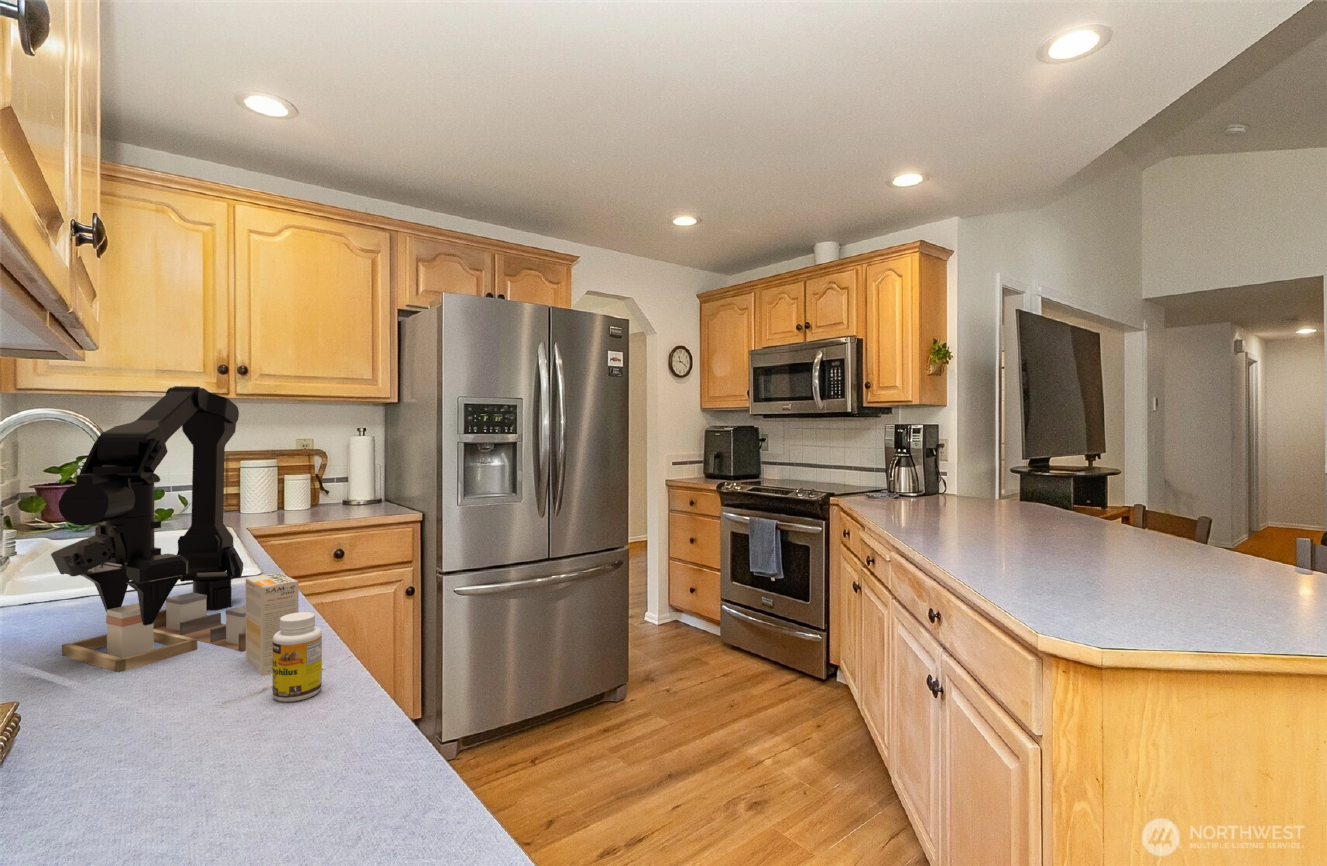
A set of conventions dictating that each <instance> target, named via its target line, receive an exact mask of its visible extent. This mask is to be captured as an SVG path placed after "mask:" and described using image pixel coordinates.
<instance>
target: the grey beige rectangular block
mask: <svg viewBox="0 0 1327 866" xmlns="http://www.w3.org/2000/svg"><path fill="white" fill-rule="evenodd" d="M206 599H207V595H203V594H198V593H193V591H192V592H189V593H184V594H183V593H182V594H179V595H174V596H168V597H167V599H166V600H165V609H166V628H168V629H173V630H177V631H180V622H183V621H187V620H191V619H195V618H199V617H203V616H207V610H206Z"/></svg>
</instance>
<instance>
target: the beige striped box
mask: <svg viewBox="0 0 1327 866" xmlns="http://www.w3.org/2000/svg"><path fill="white" fill-rule="evenodd" d="M105 619H106V620H105V622H106V634H107V646H106V654H109V655H112V656H116V657H119V658H125V657H129V656H133V655H136V654H140V653H144V652H147V651H151V650H154V642H153V624H150V625H146V626H145V625H143V623H142V618H141V613H140V606H139V602H137V603H132V604H128V605H124V606H123V605H122V606H121V607H117V608H113V609H108V610H107V613H106V617H105Z"/></svg>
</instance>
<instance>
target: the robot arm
mask: <svg viewBox="0 0 1327 866" xmlns="http://www.w3.org/2000/svg"><path fill="white" fill-rule="evenodd" d="M238 407H239V406H237V404H235V403H234V402H233V401H231V399H229V398H227V397H225V396H222V395H219V394H216V393H214V392H209V391H208V390H207V389H205V388H204V387H201V386H193V385H192V386H190V385H189V386H187V385H184V386H183V385H180V386H179V385H178V386H177V385H176V386H172V387H168V389H167V390H166V393H165V395H164V396H163V397H161V398H160V399H159V400H158V401H157V402H156V403H154V404H153V405H151V407H150V408H148V409H147V410H146V411H145V412H144V413H143V414H141V416H139V417H138V418H137V419H136V420H134V421H131V422H127V423H123V424H119V425H115V426H113V427H112V428H109V429H107V430H105V431H104V432H102V433H101V434H100V435H98V437H97V438H96V440H95V442H94V443H93V445H92V447H91V449H90V451H89V453H88V454H87V455H88V456H87V457H86V459H85V461H84V463H83V466H82V468H81V469H80V472H79V473H78V474H77V475H76V477H75V478H76V484H73V485H71V486H70V487H68V488H67V489H65V491H64V492H63V493H62V494H61V497H60V499H59V500H58V510H59V513H60V515H61V516H62V518H63V519H65V521H67V522H68V523H70V524H73V525H74V526H80V527H84V526H86V527H87V526H91V525H94V524H95V525H96V524H97V526H96V527H95V528H94V529H95V531H94V532H95V533H94V535H93V536H90V537H88V538H84V539H82V540H79V541H76V542H74V543H72V544H69V545H66V546H65V547H62V548H60V549H57V550H54V551H53V552H51V553H50V556H51V558H52V560H53V561H54V562H53V563H54V564H55V566H56V568H57V570H58V572H59V574H60V575H69V576H70V577H78V576H79V577H83V578H85V579H87V580H89V581H91V582H92V583H93V584H94V585H95V587H96V590H97V592H98V595H99V597H100V599H101V602H102V605H103V607H104V611H105V612H106V614H107V610H108V609H113V608H117V607H122V606H123V603H124V600H125V596H126V594H127V592H128V591H127V589H128V586H129V587H131V588H132V589H133V590H135V591H136V593H137V598H138V603H139V606H140V613H141V618H142V623H143V625H145V626H146V625H150V624H153V622H154V620H155V619H156V617H157V615H158V613H159V611H160V610H162V608H163V606H164V604H165V603H166V599H167V598H169V595H170V594H171V592H172V590H173V589H174V587H175V586H176V585H177V582H178V581H180V582H190V581H191V582H192V592H193V593H198V594H203V595H207V599H206V611H220V610H224V609H225V610H226V609H230V608H232V607H233V605H232V603H233V602H232V598H233V597H232V594H233V593H232V592H233V591H232V580H234V579H238V578H241V577H242V574H243V570H244V562H243V560H242V558H241V556H240V555H239V554H238V551H237V549H236V548H235V545H234V544H235V543H234V536H233V535H232V533H231V532H230V530H229V529H228V528H227V527H226V525H225V524H224V501H225V499H224V496H225V494H224V493H225V455H226V454H225V452H226V451H225V449H226V448H225V447H226V445H227V444H228V443H229V441H230V440H231V439H232V437H233V436H234V435H235V433H236V428H237V422H238V421H239V416H240V411H239V408H238ZM181 428H182V432H183V434H184V435H185V437H186V438H187V440H188V441H189V443H190V444H191V445H192V477H191V483H192V485H191V517H190V518H191V523H190V526H189V528H188V529H187V530H186V532H185V533H184V535H180V536H179V538H178V540H177V553H176V554H173V553H163V554H162V548H161V547H156V546H155V529H161V528H162V521H161V520H155V484H156V483H160V481H161V477H160V476H159V475H158V474H157V473H155V471H156V469H157V467H158V466H159V465H160V464H161V462H162V461H163V460H164V458H165V457H166V455H167V454H168V448H167V441H168V440H169V439H170V438H171V437H172V436H174V434H175V433H176V432H177V431H178V430H179V429H181Z"/></svg>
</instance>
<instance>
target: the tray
mask: <svg viewBox="0 0 1327 866" xmlns="http://www.w3.org/2000/svg"><path fill="white" fill-rule="evenodd" d="M153 643H157V644H161V645H165V646H163V647H158V648H156V649H153V650H151V651H147V652H144V653H140V654H136V655H133V656H129V657H125V658H119V657H116V656H112V655H109V654H107V653H104V652H101V651H97V650H95V649H100V648H103V647H107V633H105V634H103V635H98V636H93V637H90V638H86V639H81V640H77V641H73V642H70V643H65V644H61V656H63V657H65V658H69V659H73V660H76V661H79V662H82V663H86V664H89V665H92V666H96V667H99V668H103V669H106V670H109V671H114V673H115V672H116V673H121V672H125V671H128V670H131V669H132V670H133V669H135V668H138V667H141V666H146V665H149V664H152V663H156V662H159V661H163V660H166V659H170V658H173V657H177V656H179V655H180V656H181V655H184V654H187V653H190V652H194V651H198V641H197V639H193V638H189V637H185V636H181V635H177V634H172V633H168V632H164V631H160V630H156V629H153Z"/></svg>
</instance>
